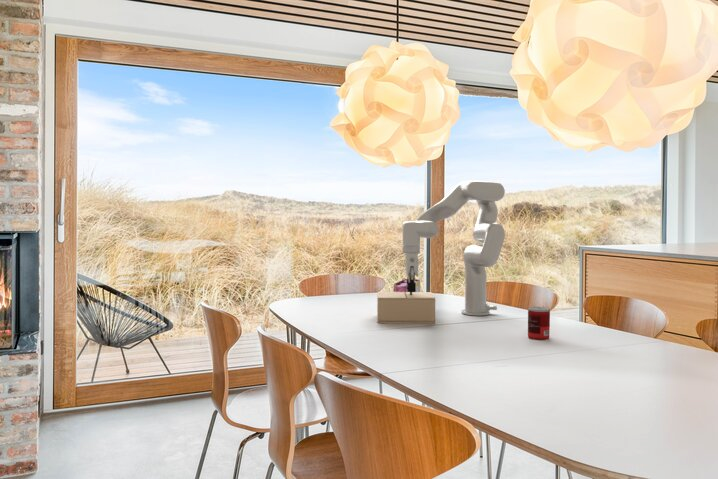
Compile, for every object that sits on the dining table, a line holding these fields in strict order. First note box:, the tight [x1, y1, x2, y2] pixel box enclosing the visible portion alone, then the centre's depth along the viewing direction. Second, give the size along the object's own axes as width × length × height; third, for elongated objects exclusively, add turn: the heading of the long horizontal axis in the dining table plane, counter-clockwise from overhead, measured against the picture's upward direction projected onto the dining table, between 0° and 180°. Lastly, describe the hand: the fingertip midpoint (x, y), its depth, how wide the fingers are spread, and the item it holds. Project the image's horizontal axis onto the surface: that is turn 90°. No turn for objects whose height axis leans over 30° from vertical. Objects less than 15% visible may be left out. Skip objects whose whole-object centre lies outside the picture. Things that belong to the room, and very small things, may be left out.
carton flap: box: [405, 285, 436, 300], centre depth 245 cm, size 12×17×6 cm
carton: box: [376, 291, 436, 324], centre depth 246 cm, size 24×18×11 cm
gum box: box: [393, 278, 421, 293], centre depth 270 cm, size 24×8×14 cm, turn 161°
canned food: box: [527, 306, 551, 341], centre depth 209 cm, size 8×8×11 cm
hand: (411, 290), depth 245 cm, fingers open, 7 cm apart
